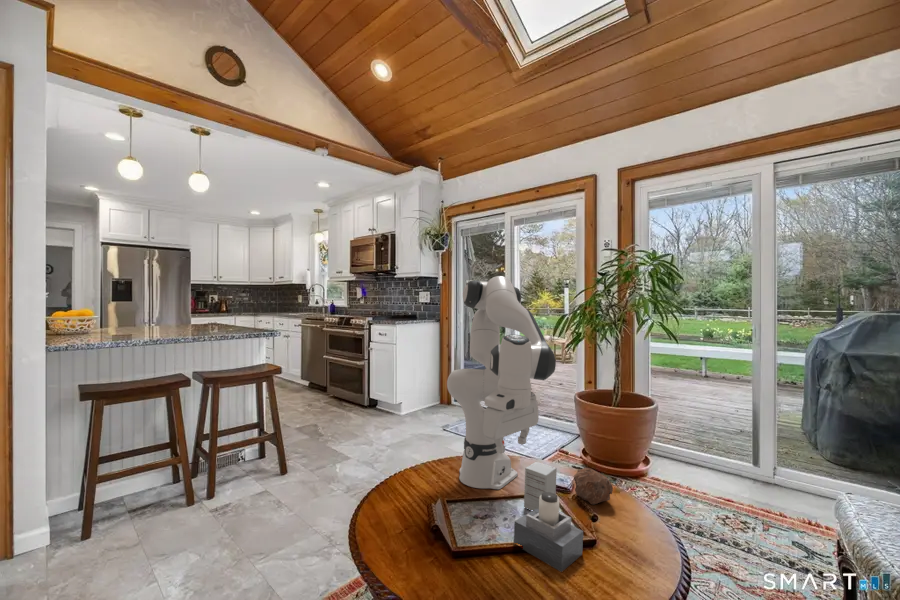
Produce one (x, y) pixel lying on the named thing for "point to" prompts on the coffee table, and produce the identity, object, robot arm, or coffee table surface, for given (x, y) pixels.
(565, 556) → the grey socket block
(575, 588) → the coffee table surface
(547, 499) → the cream cylinder
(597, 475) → the decorative rock
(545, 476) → the supplement box
